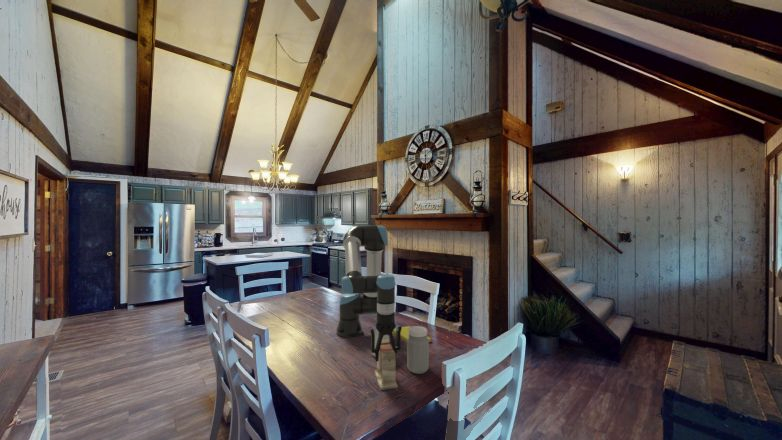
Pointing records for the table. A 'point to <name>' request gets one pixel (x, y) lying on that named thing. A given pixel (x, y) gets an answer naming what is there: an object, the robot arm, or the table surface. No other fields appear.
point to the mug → (385, 337)
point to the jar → (417, 350)
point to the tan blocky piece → (387, 369)
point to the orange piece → (382, 349)
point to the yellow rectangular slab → (406, 333)
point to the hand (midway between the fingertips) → (385, 367)
